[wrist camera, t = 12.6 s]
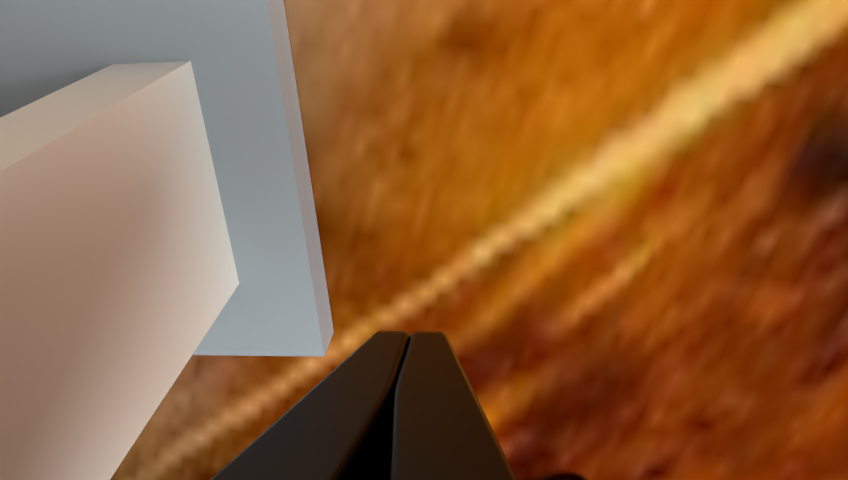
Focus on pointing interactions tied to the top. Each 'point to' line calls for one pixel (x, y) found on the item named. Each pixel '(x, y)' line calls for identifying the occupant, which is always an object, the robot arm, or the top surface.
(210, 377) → the top surface
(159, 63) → the domino
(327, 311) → the domino board
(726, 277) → the top surface
